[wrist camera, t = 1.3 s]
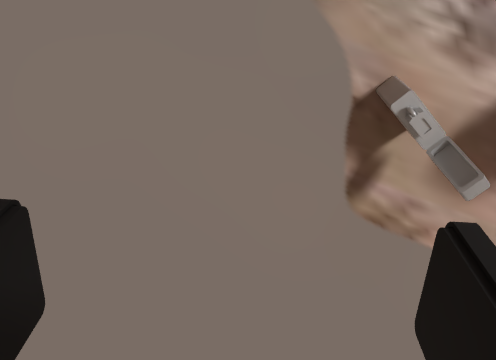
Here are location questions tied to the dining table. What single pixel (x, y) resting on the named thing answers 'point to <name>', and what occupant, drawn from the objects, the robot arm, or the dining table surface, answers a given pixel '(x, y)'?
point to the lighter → (433, 138)
